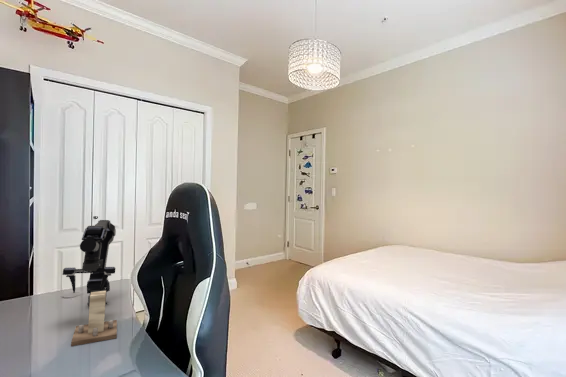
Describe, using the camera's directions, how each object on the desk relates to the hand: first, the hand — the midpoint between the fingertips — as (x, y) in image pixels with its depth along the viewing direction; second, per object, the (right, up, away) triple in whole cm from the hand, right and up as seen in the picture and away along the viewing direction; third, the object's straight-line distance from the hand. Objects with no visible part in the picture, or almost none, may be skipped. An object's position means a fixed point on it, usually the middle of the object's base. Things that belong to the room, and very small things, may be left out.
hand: (87, 292), depth 124 cm
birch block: (+11, -11, -11) cm, 19 cm away
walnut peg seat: (+11, -12, -11) cm, 20 cm away
